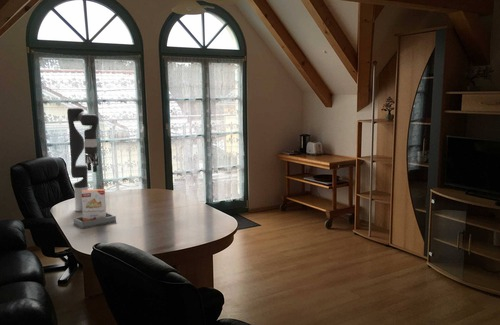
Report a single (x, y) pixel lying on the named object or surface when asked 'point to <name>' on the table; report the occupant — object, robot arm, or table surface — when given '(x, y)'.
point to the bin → (94, 221)
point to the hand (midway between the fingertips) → (92, 171)
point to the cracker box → (93, 204)
